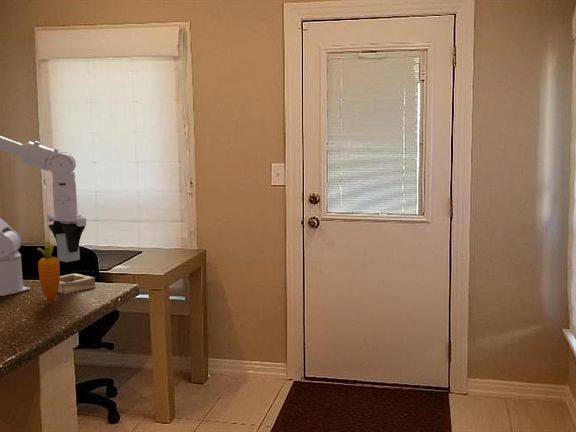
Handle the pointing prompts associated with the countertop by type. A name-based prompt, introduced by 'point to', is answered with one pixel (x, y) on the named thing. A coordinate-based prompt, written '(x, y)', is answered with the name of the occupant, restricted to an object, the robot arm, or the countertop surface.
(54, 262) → the carrot
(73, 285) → the birch well block
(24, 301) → the countertop surface
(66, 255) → the slate square peg
